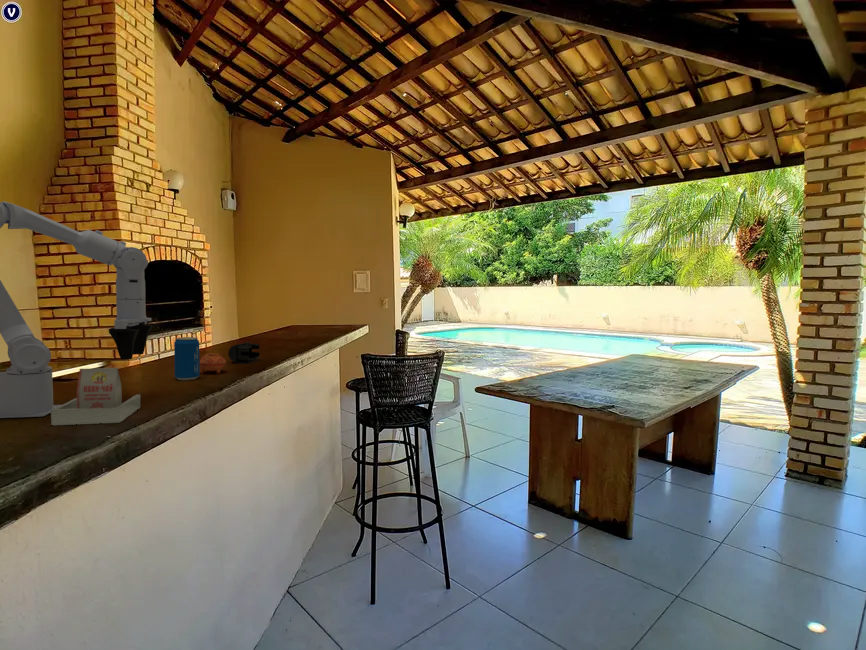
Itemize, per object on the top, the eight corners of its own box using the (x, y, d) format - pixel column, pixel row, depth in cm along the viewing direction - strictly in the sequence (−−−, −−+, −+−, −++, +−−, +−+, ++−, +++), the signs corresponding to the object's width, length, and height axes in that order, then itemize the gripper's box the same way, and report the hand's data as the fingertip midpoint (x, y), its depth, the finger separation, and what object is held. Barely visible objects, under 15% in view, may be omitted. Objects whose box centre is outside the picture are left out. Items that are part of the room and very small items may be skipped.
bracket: (51, 425, 89) (50, 410, 89) (80, 409, 101) (79, 396, 100) (119, 422, 92) (119, 407, 92) (140, 407, 104) (140, 394, 103)
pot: (202, 369, 149) (207, 349, 149) (226, 375, 150) (231, 355, 149) (190, 373, 141) (196, 351, 141) (216, 379, 142) (221, 358, 141)
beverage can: (189, 381, 132) (188, 339, 131) (169, 380, 133) (168, 338, 132) (204, 377, 138) (204, 337, 137) (185, 376, 139) (185, 336, 138)
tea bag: (85, 413, 98) (84, 367, 97) (122, 412, 100) (121, 366, 99) (77, 418, 94) (75, 370, 93) (115, 417, 96) (114, 369, 95)
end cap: (241, 359, 173) (241, 341, 172) (260, 360, 172) (260, 342, 172) (227, 363, 163) (227, 344, 162) (247, 364, 162) (247, 345, 162)
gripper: (139, 300, 102) (140, 361, 103) (159, 298, 116) (160, 352, 117) (102, 299, 100) (104, 361, 101) (127, 297, 114) (129, 352, 115)
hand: (132, 356), depth 109 cm, fingers open, 7 cm apart
